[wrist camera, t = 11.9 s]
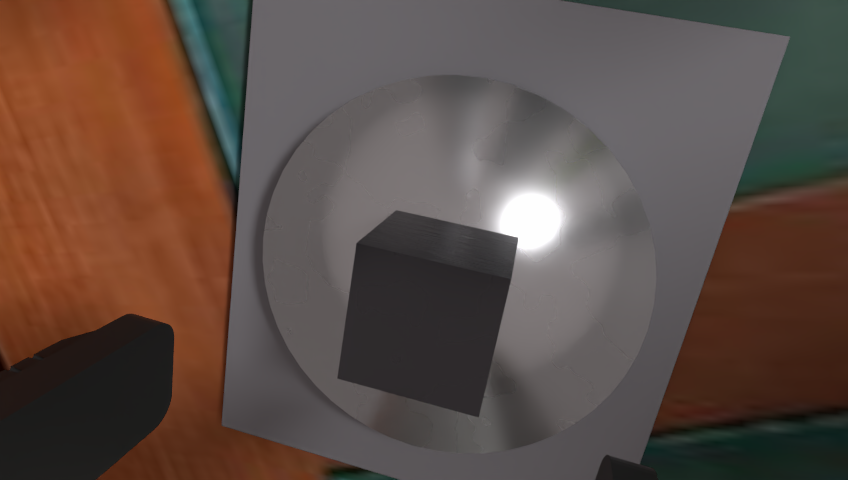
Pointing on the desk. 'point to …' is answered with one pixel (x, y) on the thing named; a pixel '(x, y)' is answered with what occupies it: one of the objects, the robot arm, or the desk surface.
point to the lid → (459, 264)
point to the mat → (562, 85)
